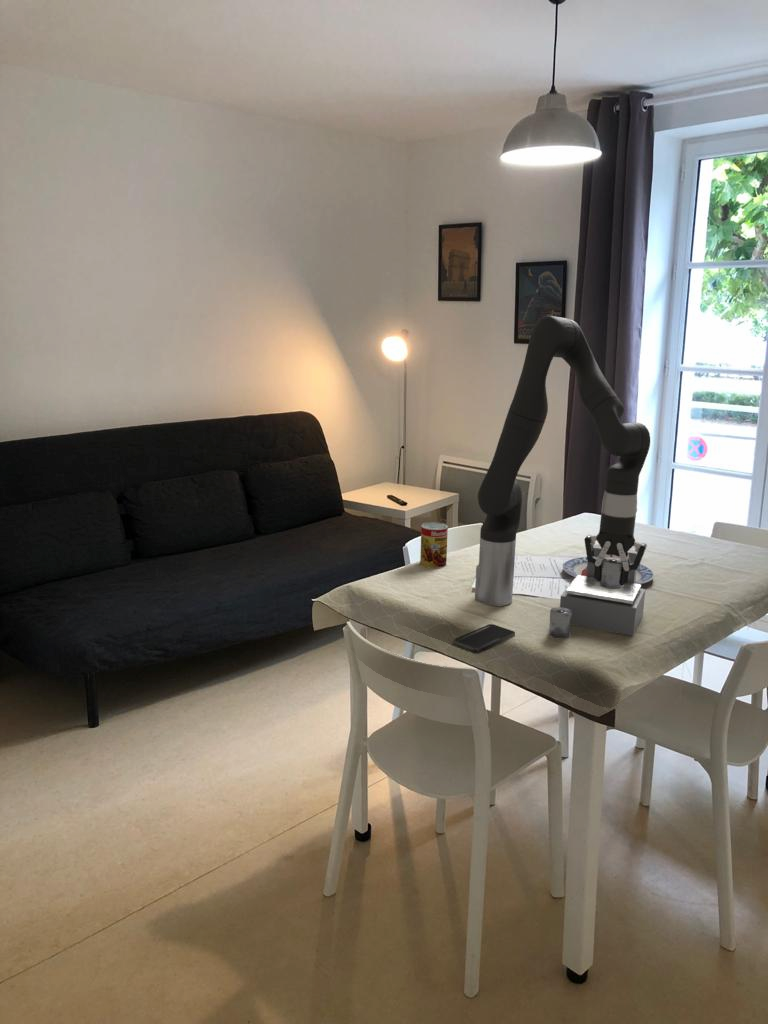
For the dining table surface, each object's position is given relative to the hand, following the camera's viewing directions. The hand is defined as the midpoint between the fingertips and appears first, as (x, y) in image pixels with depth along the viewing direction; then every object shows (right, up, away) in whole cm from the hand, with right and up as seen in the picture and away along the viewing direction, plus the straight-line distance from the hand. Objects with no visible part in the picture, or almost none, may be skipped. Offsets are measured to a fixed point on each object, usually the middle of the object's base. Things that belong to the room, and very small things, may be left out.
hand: (610, 582), depth 190 cm
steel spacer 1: (-10, -13, +7) cm, 18 cm away
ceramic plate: (+13, -3, +51) cm, 52 cm away
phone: (-29, -14, +4) cm, 32 cm away
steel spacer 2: (0, -1, 0) cm, 1 cm away
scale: (+3, -10, +19) cm, 22 cm away
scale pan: (+3, -3, +16) cm, 16 cm away
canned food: (-37, 0, +58) cm, 69 cm away
